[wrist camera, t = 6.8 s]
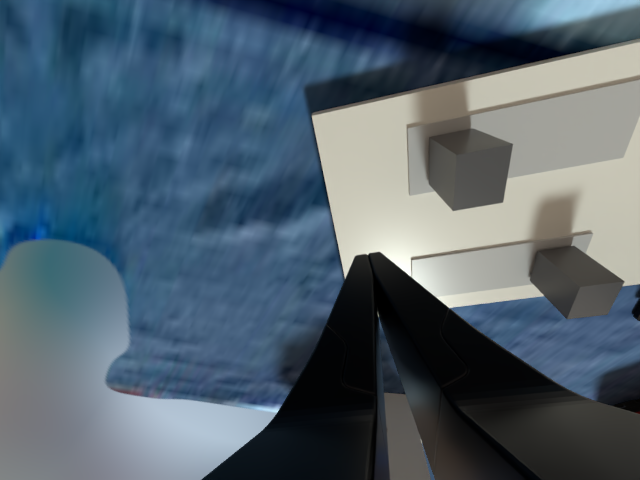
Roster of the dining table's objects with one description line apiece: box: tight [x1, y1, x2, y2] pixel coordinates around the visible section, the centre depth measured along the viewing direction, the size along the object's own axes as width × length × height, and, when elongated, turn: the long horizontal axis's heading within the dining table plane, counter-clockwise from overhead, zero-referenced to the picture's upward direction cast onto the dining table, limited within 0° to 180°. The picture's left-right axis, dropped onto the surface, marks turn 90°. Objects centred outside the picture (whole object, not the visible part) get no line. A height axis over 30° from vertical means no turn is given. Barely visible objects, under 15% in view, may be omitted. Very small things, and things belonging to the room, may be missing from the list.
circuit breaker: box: [384, 393, 431, 480], centre depth 30 cm, size 8×14×15 cm, turn 84°
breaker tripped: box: [429, 128, 513, 211], centre depth 15 cm, size 2×3×4 cm
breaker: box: [530, 246, 625, 319], centre depth 19 cm, size 2×3×4 cm
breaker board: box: [312, 38, 640, 317], centre depth 20 cm, size 24×18×2 cm
